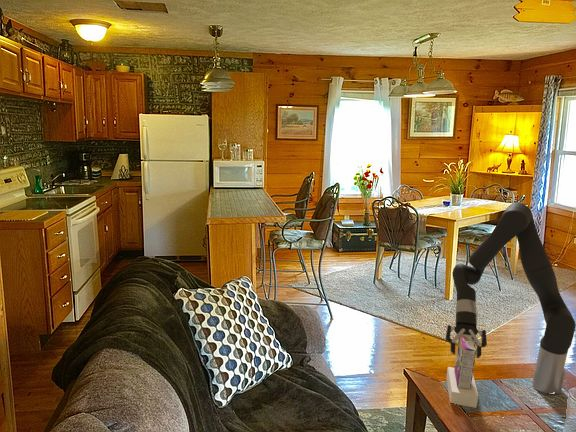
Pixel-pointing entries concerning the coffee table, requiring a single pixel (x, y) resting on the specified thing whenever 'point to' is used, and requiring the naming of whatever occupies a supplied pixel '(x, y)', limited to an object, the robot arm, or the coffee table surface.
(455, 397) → the plain white box
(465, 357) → the candy bar box
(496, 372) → the coffee table surface
